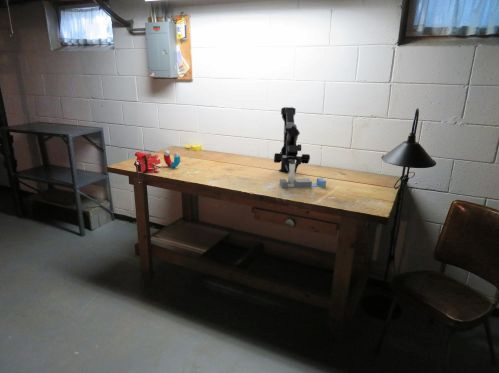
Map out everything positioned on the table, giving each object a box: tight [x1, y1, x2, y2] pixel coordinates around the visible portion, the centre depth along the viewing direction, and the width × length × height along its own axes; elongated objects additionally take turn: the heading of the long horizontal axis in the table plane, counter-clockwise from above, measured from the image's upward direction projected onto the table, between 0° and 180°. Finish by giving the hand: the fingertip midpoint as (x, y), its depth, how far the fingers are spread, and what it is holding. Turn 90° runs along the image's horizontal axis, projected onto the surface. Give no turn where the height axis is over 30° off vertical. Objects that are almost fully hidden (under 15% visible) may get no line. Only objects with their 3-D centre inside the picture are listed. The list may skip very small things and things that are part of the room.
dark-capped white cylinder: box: [287, 159, 296, 184], centre depth 188 cm, size 3×3×13 cm
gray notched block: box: [278, 177, 327, 189], centre depth 191 cm, size 6×24×4 cm, turn 100°
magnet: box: [163, 149, 181, 168], centre depth 222 cm, size 12×3×10 cm, turn 57°
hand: (292, 172), depth 187 cm, fingers closed on dark-capped white cylinder, 3 cm apart
